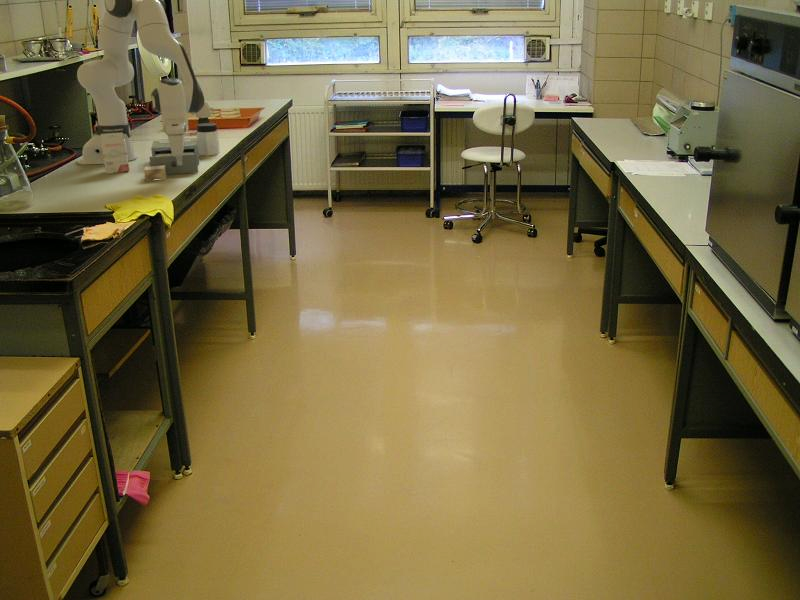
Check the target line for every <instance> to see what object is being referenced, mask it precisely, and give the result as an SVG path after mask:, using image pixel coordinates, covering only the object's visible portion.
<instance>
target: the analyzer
mask: <svg viewBox="0 0 800 600" xmlns="http://www.w3.org/2000/svg"><path fill="white" fill-rule="evenodd" d="M183 139H184V138H183ZM150 149H151V150H150V151H151V157H153V156H156V154H170V153H171V148H170V144H169V139H168V140H167V139H165V140H153V141H152V144H151V147H150ZM186 152H194V154H196V155H197V165H198V166H199V165H200V155H199V148H198V139H197V138H185V139H184V150H183V153H186Z"/></svg>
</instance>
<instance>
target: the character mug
mask: <svg viewBox="0 0 800 600" xmlns="http://www.w3.org/2000/svg"><path fill="white" fill-rule="evenodd" d="M190 114H191V115H193V116H194V115H195V117H196V118H198V120H197V124H202V123H211V122H210V119H209V118H210V117H211V115H215V107H214V106H211V105H210V102H205V103H204V106H203V108H202V109H201V110H200V111H199V112H197V113H190Z"/></svg>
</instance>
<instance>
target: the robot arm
mask: <svg viewBox="0 0 800 600" xmlns="http://www.w3.org/2000/svg"><path fill="white" fill-rule="evenodd" d="M104 6H105V12H104V15H103V17H102V21H101V25H100V30H99V35H98V41H97V42H98V44H99V46H100V47H101V48H102V49H103V55H102V56H103V57H102V58H101V59H95V60H90V61H87V62H85V63H83V64H81V65H80V66H79V67H78V69H77V73H76V78H77V81H78V83H79V84H80V86H81V87H82V88H84V89H85V90H86V91H87V92H88V93H89V95H90V97H91V98H92V100H93V103H94V105H95V111H96V116H97V123H98V124H95V125H94V126H93V132H94V133H93V134H94V135H93V136H92V137H91V138H90V139H89V140H88V141H87V142H86V143H85V144H84V145H83V146H82V155H81V156H80V157H79V158H78V159H77V164H79V165H104V159H103V152H102V146H101V136H100V135H101V134H107V133H121V132H122V133H123V137H124V139H125V144H126V150H127V157H128V162H129V161H133V160H135V159H137V155H136V153H135V150H134V147H133V143H132V140H131V136H132V135H131V134H132V132H131V126H130V124H129V121H128V115H127V108H126V107H127V106H126V104H125V102H124V100H122V99H121V98H119V96H118V95H117V93H116V90H115V88H117V87H123V86H125V85H126V84H128V83H130V82H132V81H133V80H134V77H135V70H134V66H133V64H132V63H131V61H130V59H129V48H130V47H129V46H130V43H131V37H132V34H133V28H134V24H135V22H136V27H137V32H138V34H137V35H138V37H139V41H140V44H141V45H142V46H141V47H143V48H144V49H145V50H146V51H147V52H148V53H150V54H152V55H154V56H158V57H161V58H164V59H167V60H169V61H172V62H173V63H174V64H176V66H177V67H178V69H179V72H180V75H181V77H182V80H183V82H184V84H183V82H182V80H181V79H179V78H177V77H175V78H174V77H166V78H163V79H161V80H159V85H158V87H155V88H154V89H153V90H152V92H151V93H150V96H151V105H152V106H151V107H152V109H153V110H154V111H155V112H157V113H159V114H161V121H162V123H161V124H162V131H163V132H164V133H165V135H166V136H167V139H168V140H169V144H170V148H171V153H172V156H173V157H176V160H177V165H178V166H179V165H182V163H183V162H182V156H183V150H184V136H186V135H187V133H186V132H188V131H189V129H190V128H189V127H190V126H189V118H188V114H189V113H190V114H191V113H197V112H199V111H200V110H201V109H202V108H203V106H204V103H206V102H205V95H204V92H203V90H202V88H201V86H200V84H199V82H198V79H197V77H196V74H195V72H194V69H193V67H192V64H191V61H190V59H189V56H188V54H187V52H186V49H185V47H184V45H183V44H182V42H180V41H178V40H177V39H176V38H175V37H174V36H173V33H172V32H171V30H170V25H169V21H168V17H167V13H166V2H165V0H104ZM108 138H116V136H109V137H108Z"/></svg>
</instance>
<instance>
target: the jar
mask: <svg viewBox="0 0 800 600" xmlns="http://www.w3.org/2000/svg"><path fill="white" fill-rule="evenodd" d="M195 127H196V139H198V148H199V156H203V155H204V156H205V157H210V155H211V156H217V154H218V155H219V154H220V152H221V151H220V143H219V142H220V141H219V130H218V124H217V123H215V122H210V123H202V124H198V123H197V124H196V126H195Z"/></svg>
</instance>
